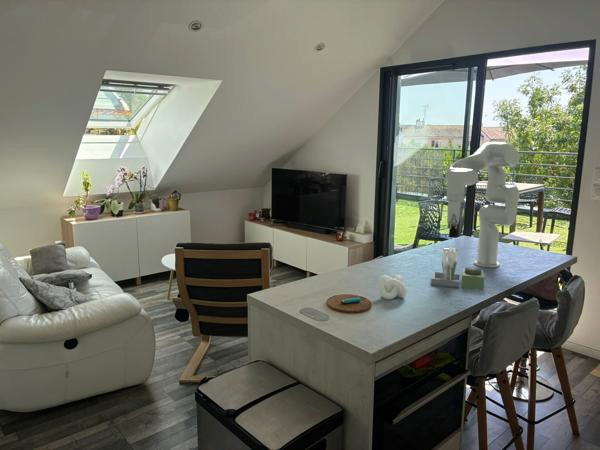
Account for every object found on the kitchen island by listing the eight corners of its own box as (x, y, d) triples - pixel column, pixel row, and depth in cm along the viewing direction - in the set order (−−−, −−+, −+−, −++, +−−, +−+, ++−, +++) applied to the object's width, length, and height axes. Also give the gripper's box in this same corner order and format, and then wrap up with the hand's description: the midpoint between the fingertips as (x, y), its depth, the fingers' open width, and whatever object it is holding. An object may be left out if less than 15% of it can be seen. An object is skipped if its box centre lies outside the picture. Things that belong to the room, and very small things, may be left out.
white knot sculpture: (412, 297, 197) (414, 277, 196) (396, 304, 189) (397, 283, 187) (390, 290, 205) (391, 271, 203) (374, 297, 197) (374, 277, 195)
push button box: (432, 277, 224) (433, 262, 222) (481, 282, 217) (483, 266, 216) (431, 285, 213) (432, 269, 211) (483, 290, 206) (484, 273, 204)
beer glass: (456, 284, 212) (459, 252, 209) (440, 283, 214) (443, 251, 211) (455, 279, 219) (457, 248, 216) (439, 278, 220) (441, 247, 217)
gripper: (447, 194, 219) (444, 230, 222) (445, 200, 203) (443, 238, 206) (463, 195, 216) (461, 231, 220) (464, 201, 200) (461, 239, 204)
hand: (452, 234), depth 213 cm, fingers open, 9 cm apart
